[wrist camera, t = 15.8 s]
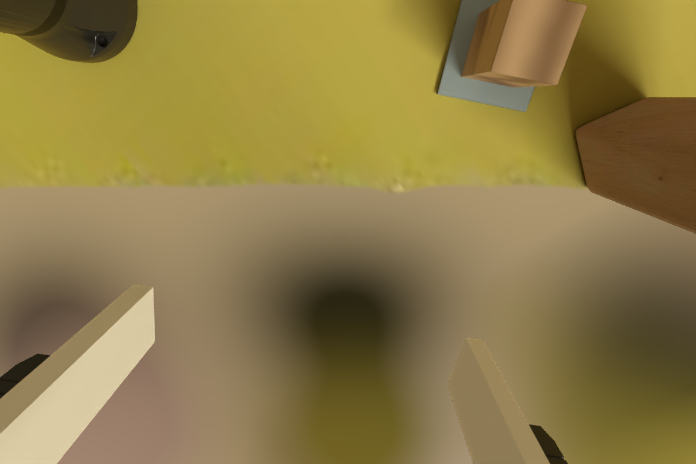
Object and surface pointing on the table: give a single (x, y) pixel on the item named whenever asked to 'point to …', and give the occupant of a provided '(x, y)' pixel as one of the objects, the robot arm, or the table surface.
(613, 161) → the wooden block
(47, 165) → the table surface
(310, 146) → the table surface
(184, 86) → the table surface
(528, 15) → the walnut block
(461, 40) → the pad
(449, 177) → the table surface
